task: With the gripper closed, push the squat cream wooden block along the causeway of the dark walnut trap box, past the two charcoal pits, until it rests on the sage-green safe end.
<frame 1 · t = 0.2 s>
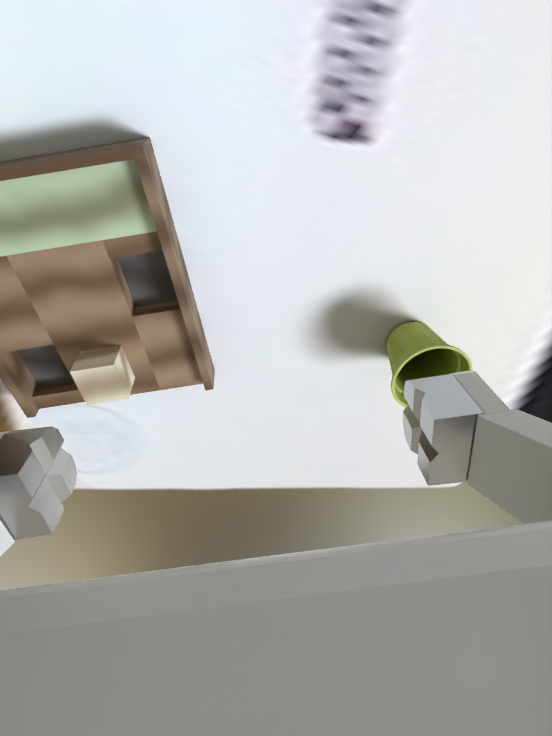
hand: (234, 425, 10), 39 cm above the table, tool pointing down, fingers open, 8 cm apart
cream block: (108, 365, 53), point 2 cm above the table, touching trap box
trap box: (84, 289, 49), on the table
plant pot: (407, 339, 57), on the table
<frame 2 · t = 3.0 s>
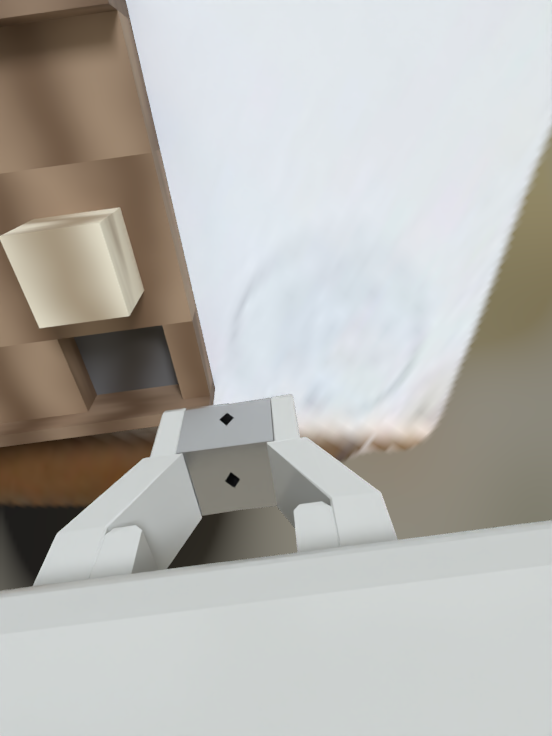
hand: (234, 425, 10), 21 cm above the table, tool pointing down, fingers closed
cream block: (91, 256, 26), point 2 cm above the table, touching trap box
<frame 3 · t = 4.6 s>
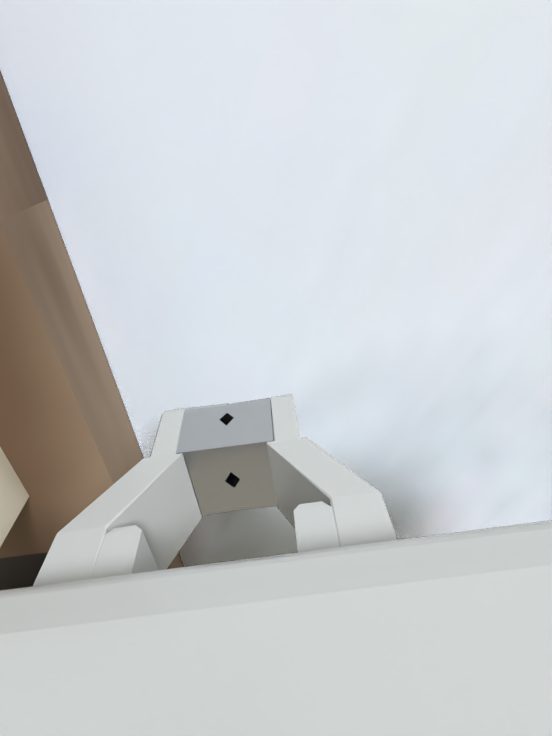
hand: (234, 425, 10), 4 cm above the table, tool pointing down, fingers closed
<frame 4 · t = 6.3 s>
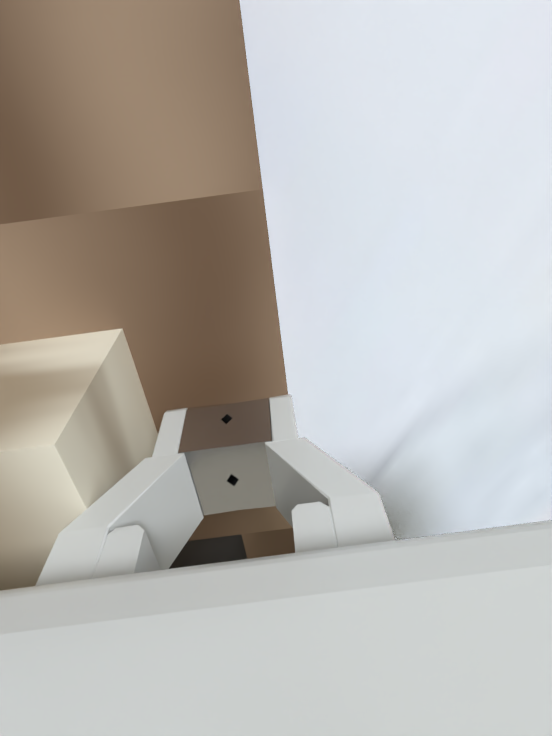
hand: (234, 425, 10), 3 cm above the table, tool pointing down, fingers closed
cream block: (56, 428, 11), point 3 cm above the table, touching gripper, trap box
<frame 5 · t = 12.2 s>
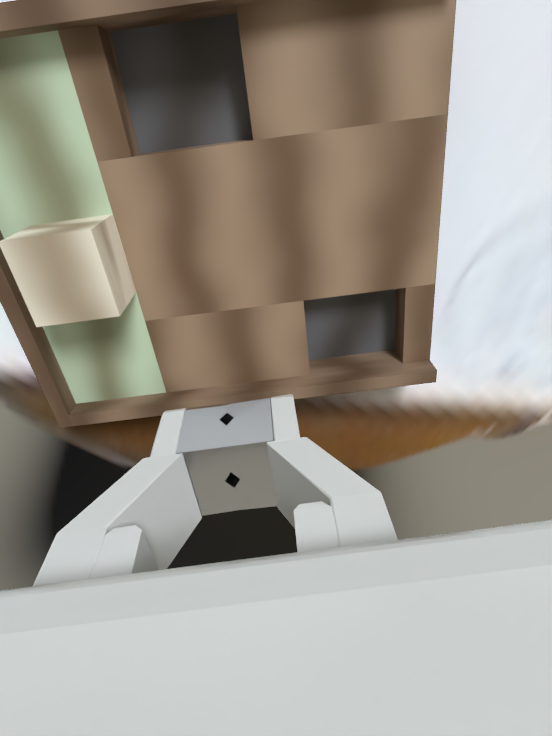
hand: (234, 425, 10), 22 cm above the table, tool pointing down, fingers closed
cream block: (86, 260, 27), point 2 cm above the table, touching trap box
trap box: (220, 227, 29), on the table
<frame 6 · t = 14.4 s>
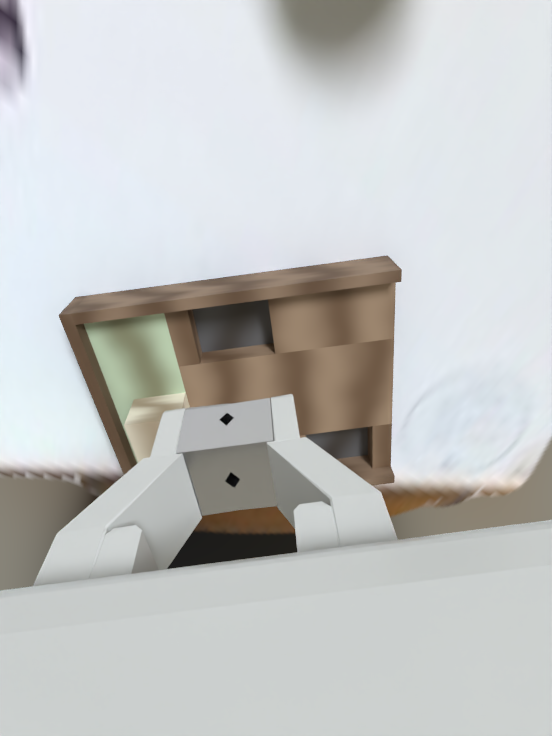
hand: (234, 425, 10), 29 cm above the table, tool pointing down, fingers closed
cream block: (166, 416, 43), point 2 cm above the table, touching trap box
trap box: (250, 388, 44), on the table
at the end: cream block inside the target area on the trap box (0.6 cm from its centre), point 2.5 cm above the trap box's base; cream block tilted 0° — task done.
